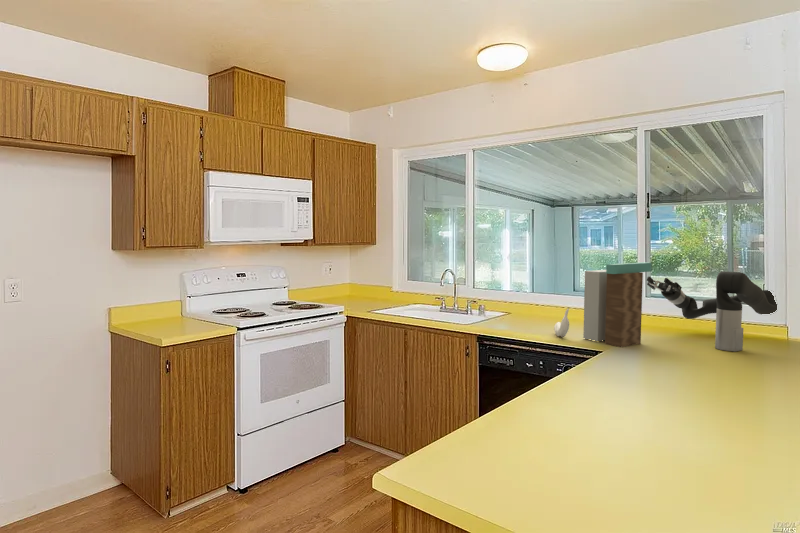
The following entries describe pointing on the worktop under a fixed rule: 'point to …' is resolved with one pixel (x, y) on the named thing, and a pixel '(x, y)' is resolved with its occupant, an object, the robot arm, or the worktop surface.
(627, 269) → the teal block
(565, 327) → the white tapered lobed shape
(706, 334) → the worktop surface
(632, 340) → the walnut stand
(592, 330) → the grey stand
